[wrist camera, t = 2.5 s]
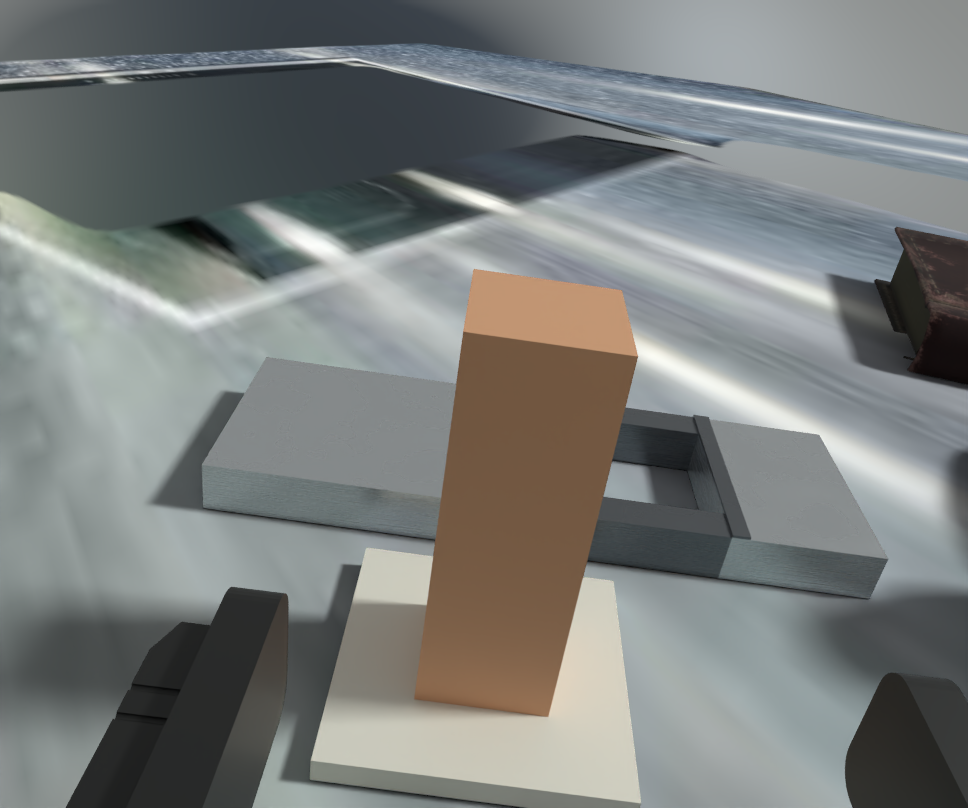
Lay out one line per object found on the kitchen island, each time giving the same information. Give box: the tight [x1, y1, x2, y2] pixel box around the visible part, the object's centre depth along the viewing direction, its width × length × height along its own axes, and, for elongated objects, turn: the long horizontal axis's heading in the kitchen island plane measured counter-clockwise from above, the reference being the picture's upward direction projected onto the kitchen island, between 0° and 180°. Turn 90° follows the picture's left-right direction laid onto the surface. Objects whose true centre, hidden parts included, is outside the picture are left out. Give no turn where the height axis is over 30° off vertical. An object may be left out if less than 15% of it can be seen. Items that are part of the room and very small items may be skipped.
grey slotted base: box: [202, 357, 888, 599], centre depth 37 cm, size 26×9×2 cm, turn 87°
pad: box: [310, 548, 641, 808], centre depth 27 cm, size 9×9×1 cm
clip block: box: [414, 269, 638, 717], centre depth 24 cm, size 4×4×12 cm
